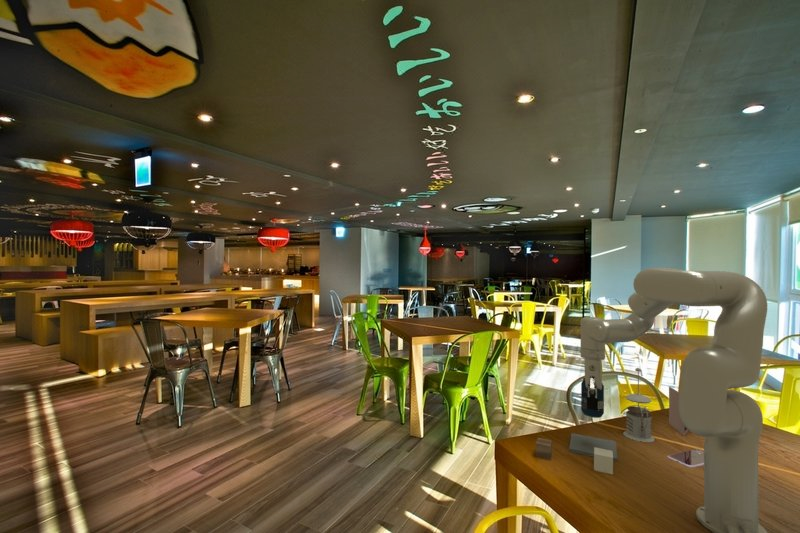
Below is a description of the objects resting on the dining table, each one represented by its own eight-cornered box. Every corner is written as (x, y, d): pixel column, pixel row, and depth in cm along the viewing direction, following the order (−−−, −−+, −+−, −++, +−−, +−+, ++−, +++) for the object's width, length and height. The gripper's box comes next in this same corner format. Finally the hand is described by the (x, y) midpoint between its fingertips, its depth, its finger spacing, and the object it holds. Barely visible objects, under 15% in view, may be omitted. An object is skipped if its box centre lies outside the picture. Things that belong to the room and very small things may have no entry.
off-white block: (613, 474, 110) (613, 457, 110) (594, 470, 113) (594, 453, 113) (612, 467, 115) (612, 450, 115) (594, 463, 117) (594, 447, 117)
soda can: (576, 412, 130) (576, 377, 131) (592, 410, 132) (592, 376, 133) (592, 419, 124) (592, 383, 124) (608, 417, 126) (608, 381, 126)
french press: (648, 432, 141) (648, 365, 141) (661, 446, 130) (660, 373, 130) (619, 429, 143) (619, 363, 144) (629, 442, 132) (629, 371, 133)
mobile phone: (665, 454, 122) (696, 448, 127) (665, 457, 122) (696, 451, 127) (690, 465, 115) (722, 458, 120) (690, 469, 115) (722, 461, 120)
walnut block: (550, 460, 119) (550, 446, 119) (535, 457, 121) (535, 443, 121) (552, 454, 123) (552, 440, 123) (537, 451, 125) (537, 437, 125)
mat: (617, 461, 118) (617, 458, 118) (569, 451, 125) (568, 448, 125) (615, 444, 130) (615, 441, 130) (571, 435, 137) (571, 433, 137)
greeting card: (686, 436, 137) (686, 395, 138) (662, 430, 143) (662, 390, 143) (693, 428, 145) (693, 389, 145) (670, 422, 151) (670, 385, 151)
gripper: (605, 359, 119) (605, 416, 119) (604, 350, 134) (604, 400, 134) (579, 357, 122) (579, 411, 122) (581, 348, 138) (581, 396, 137)
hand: (592, 405), depth 128 cm, fingers closed on soda can, 6 cm apart
